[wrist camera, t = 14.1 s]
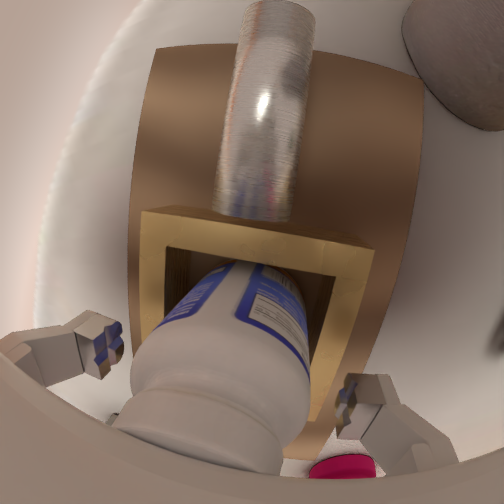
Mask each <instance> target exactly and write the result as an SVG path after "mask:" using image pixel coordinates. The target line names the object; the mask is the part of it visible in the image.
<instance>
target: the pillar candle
mask: <svg viewBox="0 0 504 504" xmlns="http://www.w3.org/2000/svg"><path fill="white" fill-rule="evenodd" d="M402 35H403V38H404V41H405V43H406V46H407V49H408V52H409V54H410V56H411V58H412V60H413V63H414V65H415V67H416V69H417V71H418V73H419V75H420V77H421V78H422V80H424V82H425V84H426V85H427V87H428V88H429V89H430V90H431V92H432V93H433V94H434V95H435V96H436V97H437V98H438V100H440V101H441V102H442V103H443V104H444V105H445V106H446V107H447V108H448V109H449V110H450V111H451V112H452V113H453V114H455V115H456V116H458V117H459V118H461V119H462V120H463V121H465V122H467V123H469V124H471V125H473V126H475V127H478V128H481V129H485V130H486V131H501V130H504V0H414V1H413V3H412V4H411V6H410V7H409V9H408V11H407V13H406V15H405V17H404V18H403V23H402Z"/></svg>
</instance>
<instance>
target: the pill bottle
mask: <svg viewBox="0 0 504 504" xmlns="http://www.w3.org/2000/svg"><path fill="white" fill-rule="evenodd" d="M130 385H131V391H132V394H133V397H132V398H131V399H129V400H128V401H127V402H126V404H125V406H124V407H123V409H122V410H121V412H120V413H119V415H118V416H117V418H116V419H115V421H114V423H113V424H112V426H111V427H113V428H115V429H117V430H119V431H122V432H124V433H126V434H128V435H130V436H133V437H135V438H137V439H140V440H142V441H145V442H147V443H150V444H152V445H155V446H158V447H160V448H163V449H166V450H169V451H171V452H174V453H177V454H180V455H184V456H187V457H190V458H193V459H197V460H200V461H204V462H208V463H212V464H216V465H220V466H224V467H229V468H233V469H238V470H243V471H249V472H255V473H261V474H268V475H276V476H280V471H281V467H282V463H283V452H282V449H283V448H285V447H286V446H287V445H289V444H290V443H291V442H292V441H293V440H294V439H295V438H296V437H297V436H298V435H299V434H300V432H301V431H302V429H303V428H304V426H305V424H306V422H307V419H308V416H309V411H310V395H311V389H310V363H309V346H308V331H307V319H306V309H305V302H304V299H303V295H302V292H301V290H300V288H299V286H298V285H297V283H296V281H295V280H294V279H293V278H292V277H291V276H290V275H289V274H288V273H287V272H286V271H285V270H284V269H282V268H281V267H279V266H273V265H268V264H262V263H256V262H251V261H245V260H240V259H235V258H234V259H230V260H227V261H225V262H223V263H221V264H219V265H217V266H216V267H214V268H213V269H212V270H210V271H209V272H208V273H207V274H206V275H205V276H204V277H203V278H202V279H201V280H200V281H199V282H198V283H197V284H196V286H195V287H194V288H193V289H192V290H191V291H190V292H189V293H188V294H187V295H186V296H185V297H184V298H183V299H182V300H181V301H180V302H179V303H178V304H177V305H176V306H175V308H174V309H173V310H172V311H171V312H170V313H169V314H168V315H167V316H166V317H165V318H164V319H163V320H162V321H161V322H160V324H159V325H158V326H157V327H156V328H155V329H154V330H153V331H152V332H151V333H150V334H149V336H148V337H147V338H146V339H145V340H144V342H143V343H142V344H141V345H140V347H139V348H138V350H137V352H136V354H135V356H134V358H133V362H132V366H131V371H130Z"/></svg>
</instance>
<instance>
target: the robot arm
mask: <svg viewBox="0 0 504 504" xmlns="http://www.w3.org/2000/svg"><path fill="white" fill-rule="evenodd" d="M121 333H122V325H121V323H120V322H119V321H116V320H114V319H111V318H108V317H106V316H103V315H101V314H98V313H96V312H93V311H91V310H86V311H85V312H83V313H82V314H80V315H79V316H77V317H76V318H74V319H73V320H71V321H70V322H68V323H67V324H65V325H64V326H61V325H57V326H51V327H45V328H38V329H31V330H25V331H18V332H12V333H10V334H8V335H7V336H5V337H4V338H2V339H1V340H0V504H504V447H503V448H500V449H498V450H495V451H493V452H490V453H487V454H485V455H482V456H479V457H476V458H473V459H470V460H467V461H463V462H460V463H459V461H458V458H457V455H456V453H455V450H454V448H453V446H452V443H451V441H450V439H449V438H448V437H447V436H446V435H444V434H443V433H442V432H440V431H439V430H438V429H436V428H435V427H434V426H432V425H431V424H430V423H428V422H427V421H426V420H424V419H423V418H422V417H420V416H419V415H418V414H416V413H415V412H414V411H413V410H411V409H410V408H409V407H407V406H406V405H405V404H402V405H401V403H400V400H399V398H398V395H397V393H396V390H395V388H394V385H393V383H392V380H391V378H390V376H389V375H388V374H360V373H347V375H346V376H345V378H344V380H343V383H344V388H342V389H341V390H339V392H338V394H337V397H336V400H335V405H334V414H335V416H336V417H337V418H338V421H337V423H336V434H337V439H347V440H360V442H361V443H362V444H363V446H364V447H365V448H366V449H367V451H368V452H369V453H370V454H371V456H372V457H373V458H374V459H375V461H376V462H377V463H378V464H379V466H380V467H381V468H382V469H383V470H384V472H385V473H386V475H385V476H384V477H377V478H363V479H310V478H295V477H285V476H276V475H268V474H261V473H255V472H249V471H243V470H238V469H233V468H229V467H224V466H220V465H216V464H212V463H208V462H204V461H200V460H197V459H193V458H190V457H187V456H184V455H180V454H177V453H174V452H171V451H169V450H166V449H163V448H160V447H158V446H155V445H152V444H150V443H147V442H145V441H142V440H140V439H137V438H135V437H133V436H130V435H128V434H126V433H124V432H122V431H119V430H117V429H115V428H113V427H111V426H109V425H107V424H105V423H103V422H101V421H99V420H97V419H96V418H94V417H92V416H90V415H88V414H86V413H85V412H83V411H81V410H79V409H78V408H76V407H74V406H73V405H71V404H69V403H68V402H66V401H65V400H63V399H61V398H60V397H58V396H57V395H55V394H54V393H52V392H51V391H49V390H48V389H46V387H48V386H51V385H54V384H56V383H59V382H62V381H64V380H67V379H70V378H72V377H75V376H78V375H80V374H83V373H84V372H85V373H87V374H89V375H91V376H93V377H96V378H98V379H100V380H102V379H103V378H104V377H105V376H106V375H107V374H108V373H109V372H110V371H111V367H110V366H111V365H114V364H117V363H118V362H119V361H120V360H121V358H122V355H123V353H124V342H123V340H122V339H121V337H120V335H121Z"/></svg>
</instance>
